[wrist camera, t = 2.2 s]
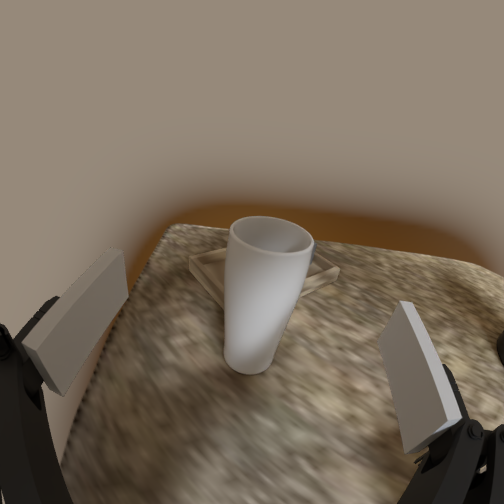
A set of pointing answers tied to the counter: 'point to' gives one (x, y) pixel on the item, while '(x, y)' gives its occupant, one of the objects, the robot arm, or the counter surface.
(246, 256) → the drinking glass
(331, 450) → the counter surface
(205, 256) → the tray
